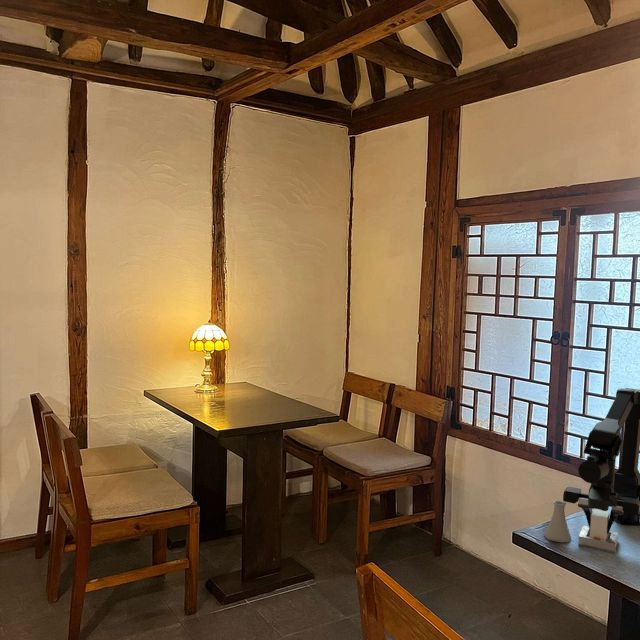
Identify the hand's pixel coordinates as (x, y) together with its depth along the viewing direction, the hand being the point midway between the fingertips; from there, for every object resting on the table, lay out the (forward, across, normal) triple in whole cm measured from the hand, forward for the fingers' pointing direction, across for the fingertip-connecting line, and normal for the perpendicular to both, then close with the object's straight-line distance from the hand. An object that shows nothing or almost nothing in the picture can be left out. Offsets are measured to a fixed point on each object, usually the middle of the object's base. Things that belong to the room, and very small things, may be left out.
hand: (599, 531), depth 174 cm
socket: (+3, 0, 0) cm, 3 cm away
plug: (+2, 0, 0) cm, 2 cm away
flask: (+4, -10, -2) cm, 11 cm away
